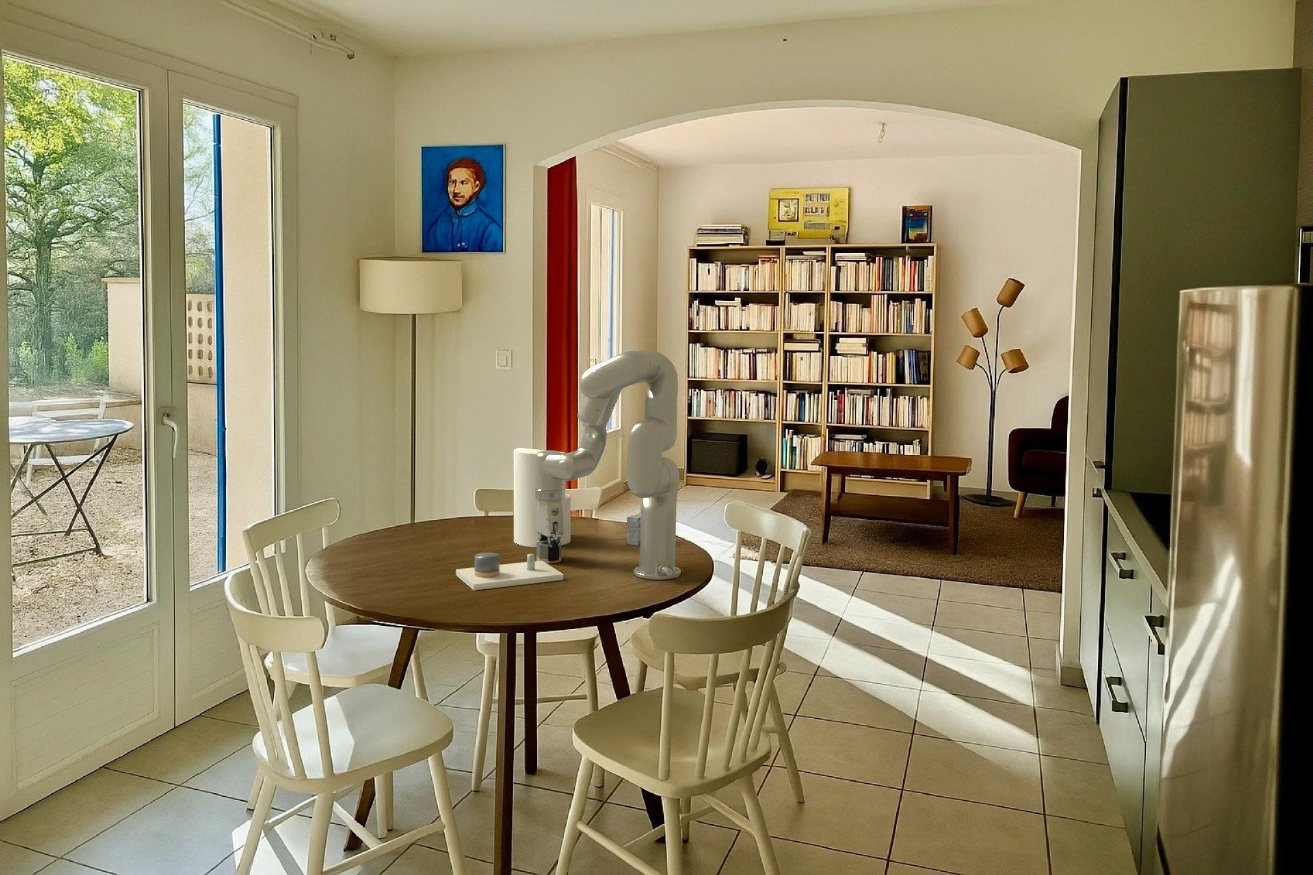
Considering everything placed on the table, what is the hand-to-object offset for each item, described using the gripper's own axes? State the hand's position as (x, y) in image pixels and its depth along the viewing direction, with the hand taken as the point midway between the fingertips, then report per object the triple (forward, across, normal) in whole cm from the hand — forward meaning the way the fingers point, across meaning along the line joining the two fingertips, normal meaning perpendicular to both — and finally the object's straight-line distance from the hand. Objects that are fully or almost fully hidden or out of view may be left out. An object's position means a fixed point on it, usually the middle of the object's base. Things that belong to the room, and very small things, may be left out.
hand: (548, 557), depth 277 cm
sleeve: (+1, 0, 0) cm, 1 cm away
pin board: (+1, -13, +16) cm, 21 cm away
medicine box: (+1, +9, -33) cm, 34 cm away
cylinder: (+1, +24, -7) cm, 25 cm away
